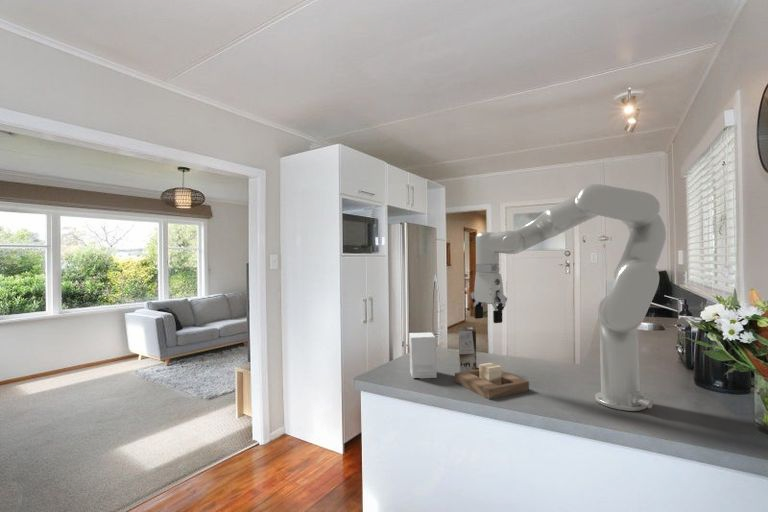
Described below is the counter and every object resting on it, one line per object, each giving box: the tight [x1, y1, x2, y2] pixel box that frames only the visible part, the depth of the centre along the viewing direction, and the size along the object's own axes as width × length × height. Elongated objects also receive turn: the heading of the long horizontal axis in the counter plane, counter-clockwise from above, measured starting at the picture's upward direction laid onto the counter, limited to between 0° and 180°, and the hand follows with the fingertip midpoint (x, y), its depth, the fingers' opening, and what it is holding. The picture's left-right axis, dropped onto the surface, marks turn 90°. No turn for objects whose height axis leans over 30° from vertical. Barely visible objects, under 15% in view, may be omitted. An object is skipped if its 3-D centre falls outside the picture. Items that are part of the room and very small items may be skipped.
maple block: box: [478, 362, 502, 386], centre depth 125 cm, size 5×5×7 cm
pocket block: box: [454, 368, 530, 400], centre depth 125 cm, size 18×16×3 cm
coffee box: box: [458, 326, 477, 372], centre depth 143 cm, size 9×6×16 cm
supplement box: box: [408, 332, 438, 380], centre depth 139 cm, size 9×9×15 cm
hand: (488, 320), depth 125 cm, fingers open, 9 cm apart
